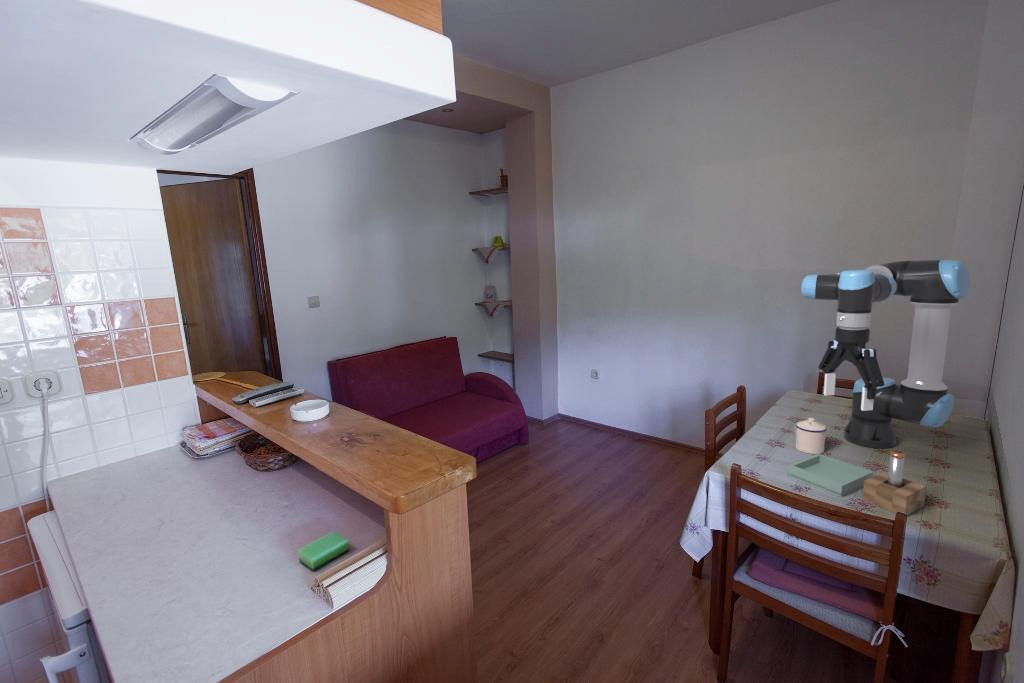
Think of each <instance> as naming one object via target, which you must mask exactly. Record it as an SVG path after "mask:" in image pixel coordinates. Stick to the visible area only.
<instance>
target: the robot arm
mask: <svg viewBox="0 0 1024 683" xmlns="http://www.w3.org/2000/svg"><path fill="white" fill-rule="evenodd" d="M800 286H801V287H800V289H801V290H800V291H801V294H802V296H803V297H804V298H805V299H806V300H808V299H809V300H816V301H817V300H822V301H823V300H824V301H828V300H829V301H837V309H836V311H837V312H836V322H835V323H836V328H835V335H834V339H835V340H830V341H828V343H827V348H826V351H825V352H824V355H823V357H822V359H821V361H820V363H819V365H818V369H819V370H821V371H822V373H823V383H824V384H823V396H825V397H826V396H835V392H836V389H835V388H836V376H837V374H836V369H838V368H839V367H840V365H841V364H842V363H843V362H844V361H848V362H849V363H852V365H853V366H855V368H856V369H857V371H858V373H859V375H860V378H859V379H856V380H855V382H854V385H853V390H852V401H851V402H852V403H851V414H850V419H849V420H848V423H847V425H846V427H845V428H844V430H843V438H844V439H845V440H846V441H848V442H849V443H852V444H855V445H859V446H862V447H867V448H874V449H890V448H893V447H896V445H897V436H896V433H895V429H894V427H893V424H892V422H893V421H892V420H893V419H895V420H899V421H904V422H907V423H912V424H916V425H919V426H922V427H923V426H925V427H930V428H939V427H941V426H943V425H944V424H945V423H946V422H947V420H948V419H949V417H950V415H951V413H952V411H953V408H954V405H955V397H954V395H953V394H951V393H948V386H947V385H946V384H945V383H944V382H943V375H944V367H945V366H944V365H945V360H946V350H947V342H948V335H949V334H948V333H949V326H950V319H951V311H952V309H953V307H955V306H957V305H959V301H960V299H963V298H966V297H967V295H968V293H969V290H970V274H969V270H968V268H967V266H966V264H965V263H964V262H962V261H960V260H954V259H953V260H952V259H934V260H933V259H932V260H931V259H930V260H929V259H928V260H925V259H924V260H898V261H892V262H886V263H881V264H876V265H871V266H868V267H867V268H865V269H850V270H847V269H846V270H843V271H841V272H837V273H836V272H835V273H829V274H818V273H817V274H808V275H806V276H805V277H804V278H803V280H802V282H801V285H800ZM893 296H901V297H910V298H909V303H910V304H911V305H912V306H913V307H914V315H913V326H912V332H911V333H912V335H911V342H910V343H911V344H910V350H909V351H910V352H909V359H908V360H909V361H908V370H907V378H905V379H903V380H902V381H901V382H900V384H899V385H898V384H897V382H896V380H895V379H893V378H890V377H883V375H882V372H881V368H880V366H879V362H878V358H877V350H876V348H866V345H867V343H869V341H870V335H871V334H870V333H871V329H870V327H871V324H872V323H871V322H872V307H873V303H879V302H884V301H886V300H888V299H891V298H892V297H893Z"/></svg>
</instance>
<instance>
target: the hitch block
mask: <svg viewBox="0 0 1024 683" xmlns="http://www.w3.org/2000/svg"><path fill="white" fill-rule="evenodd" d="M888 474H889V472H884V471H882V472H881V473H878V474H875V475H873V476H872V477H871V478H869V479H867V480H865V481H864V487H862V488H863V490H862V491H863V492H862V500H861V501H863V502H865V503H867V504H870V505H873V506H875V507H878V508H880V509H883V510H885V511H888V512H890V513H893V514H895V512H897V511H900V512H904V513H906V514H907V516H906V517H908V516H909V515H911V514H913V513H915V512H916V511H918V510H920V509H922V508H924V507H925V500H926V491H927V486H926V485H924V484H920V483H917V482H915V481H911V480H909V479H906V478H902V487H901V488H897V487H894V486H891V485H888Z"/></svg>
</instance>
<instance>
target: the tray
mask: <svg viewBox="0 0 1024 683" xmlns="http://www.w3.org/2000/svg"><path fill="white" fill-rule="evenodd" d="M786 469H787V471H786V476H787V477H790V478H792V479H794V480H797V481H800V482H802V483H804V484H806V485H810V486H812V487H815V488H817V489H819V490H822V491H825V492H827V493H829V494H832V495H834V496H837V497H839V498H842V497H845V496H846V495H849V494H852V493H854V492H855V491H858V490H859V489H862V488H864V481H865V480H867V479H869V478H871V477H874V475H873V473H874V471H871V470H868V469H865V468H862V467H859V466H857V465H854V464H850V463H848V462H844V461H841V460H839V459H836V458H832V457H830V456H828V455H824V454H822V453H821V454H812V455H811V456H808V457H805V458H803V459H799V460H797V461H794V462H792V463H790V464H787V468H786Z"/></svg>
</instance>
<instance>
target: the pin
mask: <svg viewBox="0 0 1024 683" xmlns="http://www.w3.org/2000/svg"><path fill="white" fill-rule="evenodd" d="M905 457H906V453H905V452H904V451H900V450H891V451H890V456H889V464H888V465H889V466H888V485H891V486H894V487H897V488H901V487H902V478H903V477H904V476H903V475H904V468H905V467H904V466H905ZM903 479H904V478H903Z"/></svg>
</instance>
